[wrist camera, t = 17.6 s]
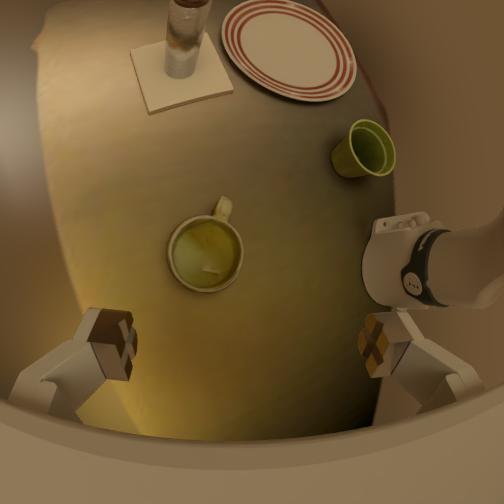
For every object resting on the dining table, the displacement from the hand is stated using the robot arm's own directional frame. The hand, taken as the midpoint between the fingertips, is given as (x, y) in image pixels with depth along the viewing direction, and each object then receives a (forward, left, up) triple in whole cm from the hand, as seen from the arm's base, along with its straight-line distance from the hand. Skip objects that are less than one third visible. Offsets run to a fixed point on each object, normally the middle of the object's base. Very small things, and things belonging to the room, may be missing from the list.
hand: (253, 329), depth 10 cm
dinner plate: (-32, -33, -33) cm, 57 cm away
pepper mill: (-10, -32, -32) cm, 46 cm away
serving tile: (-10, -32, -33) cm, 47 cm away
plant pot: (-32, -8, -33) cm, 46 cm away
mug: (-4, -3, -33) cm, 33 cm away
